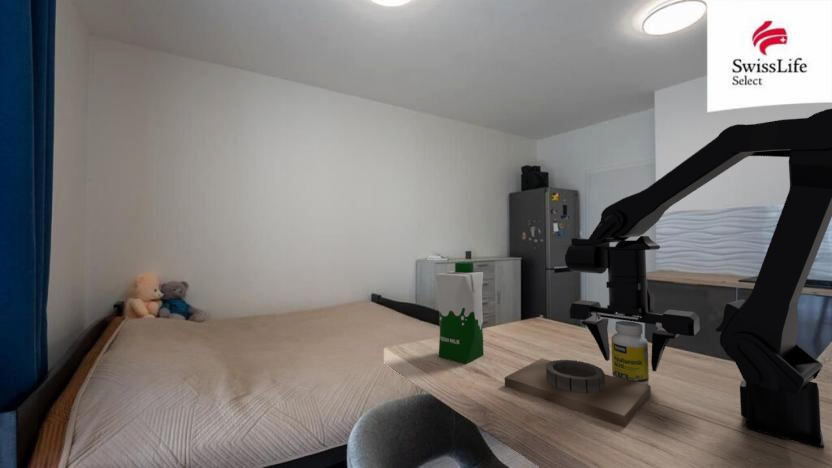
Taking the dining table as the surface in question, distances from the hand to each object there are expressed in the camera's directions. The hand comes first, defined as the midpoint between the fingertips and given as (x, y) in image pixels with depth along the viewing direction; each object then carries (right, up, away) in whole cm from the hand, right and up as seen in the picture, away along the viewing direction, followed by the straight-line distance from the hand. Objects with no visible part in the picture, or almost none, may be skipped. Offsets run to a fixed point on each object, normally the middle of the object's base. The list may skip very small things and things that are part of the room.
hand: (629, 365), depth 59 cm
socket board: (-11, -3, -4) cm, 12 cm away
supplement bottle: (0, -3, 0) cm, 3 cm away
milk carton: (-28, -4, +14) cm, 31 cm away
